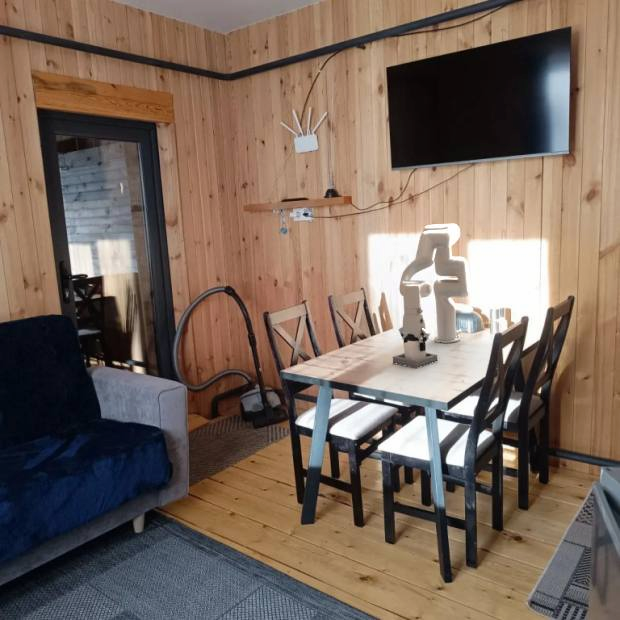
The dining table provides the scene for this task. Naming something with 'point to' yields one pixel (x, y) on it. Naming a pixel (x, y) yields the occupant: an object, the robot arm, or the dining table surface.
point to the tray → (412, 363)
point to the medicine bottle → (413, 348)
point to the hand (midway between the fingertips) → (414, 349)
